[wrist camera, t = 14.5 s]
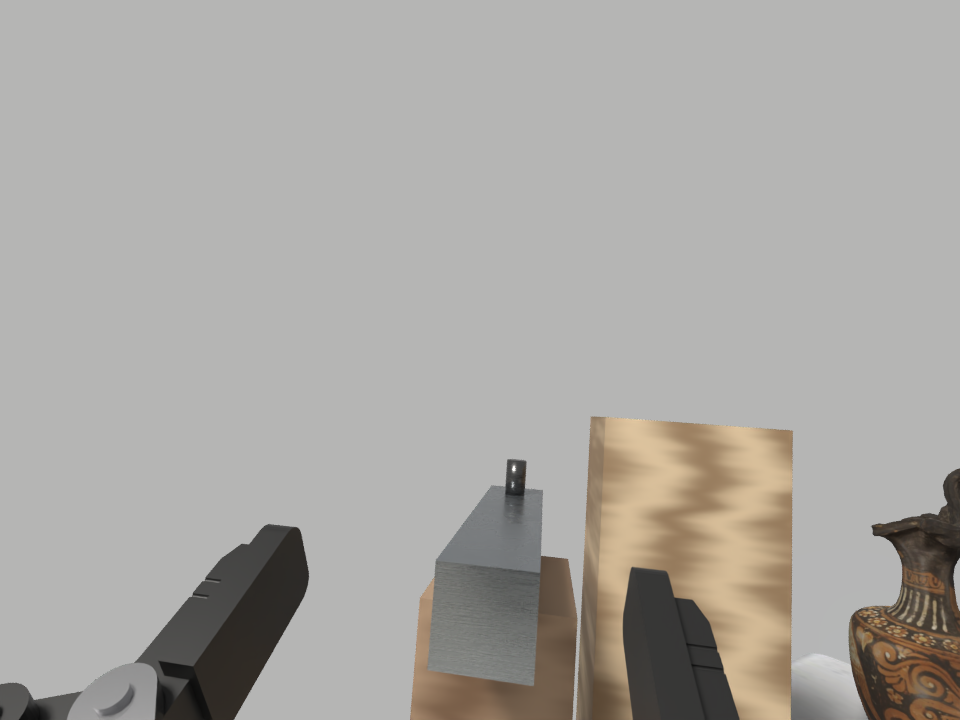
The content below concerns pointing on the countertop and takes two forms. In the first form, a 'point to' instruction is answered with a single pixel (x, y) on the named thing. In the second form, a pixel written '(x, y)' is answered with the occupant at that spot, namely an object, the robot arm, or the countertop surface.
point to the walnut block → (502, 705)
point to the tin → (491, 587)
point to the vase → (914, 623)
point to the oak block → (690, 552)
